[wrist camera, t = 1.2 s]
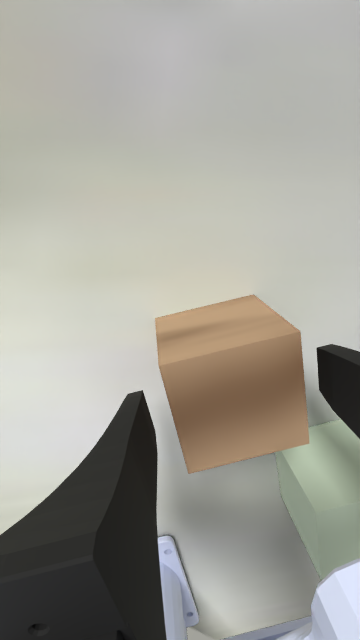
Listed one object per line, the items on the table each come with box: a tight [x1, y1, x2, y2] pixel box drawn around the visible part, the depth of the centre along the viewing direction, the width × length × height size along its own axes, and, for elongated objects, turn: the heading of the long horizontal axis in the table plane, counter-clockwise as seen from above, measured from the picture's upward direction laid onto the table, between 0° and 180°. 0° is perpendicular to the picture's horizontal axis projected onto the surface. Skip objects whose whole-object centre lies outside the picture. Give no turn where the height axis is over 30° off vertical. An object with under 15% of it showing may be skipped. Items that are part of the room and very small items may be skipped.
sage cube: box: [275, 419, 360, 581], centre depth 17 cm, size 5×5×5 cm
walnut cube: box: [155, 295, 310, 474], centre depth 14 cm, size 5×5×5 cm
